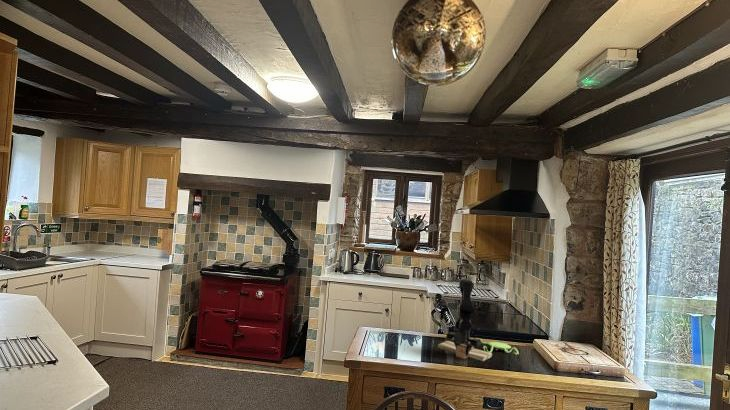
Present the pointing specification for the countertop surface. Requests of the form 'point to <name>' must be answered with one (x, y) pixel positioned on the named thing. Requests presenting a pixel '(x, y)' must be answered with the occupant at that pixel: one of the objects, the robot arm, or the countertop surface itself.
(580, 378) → the countertop surface
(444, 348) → the board
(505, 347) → the figurine
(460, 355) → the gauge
